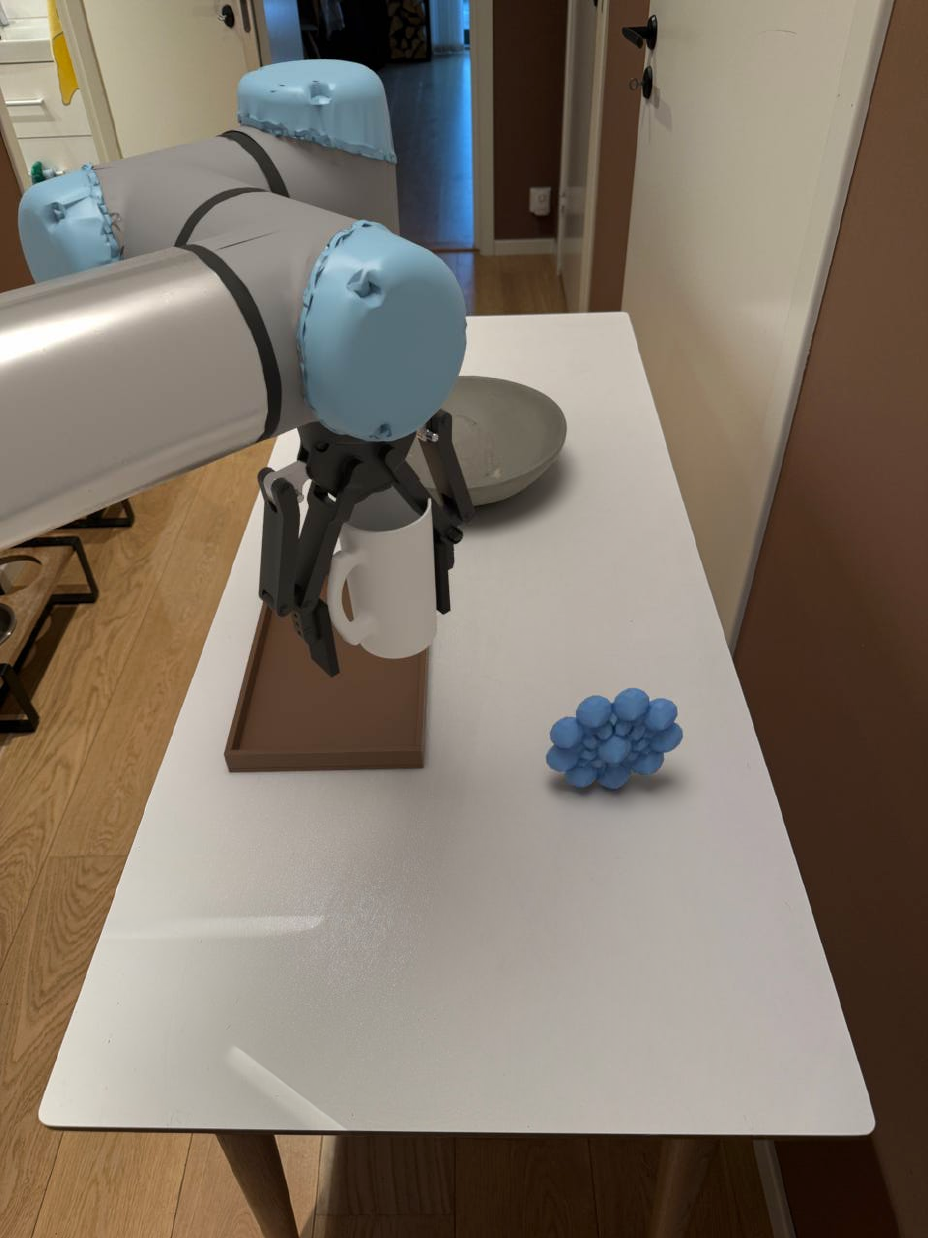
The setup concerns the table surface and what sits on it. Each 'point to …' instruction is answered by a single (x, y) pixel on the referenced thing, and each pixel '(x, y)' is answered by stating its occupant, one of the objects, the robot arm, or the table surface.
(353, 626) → the mug
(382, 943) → the table surface
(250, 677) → the tray
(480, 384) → the bowl
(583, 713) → the blue sphere cluster
